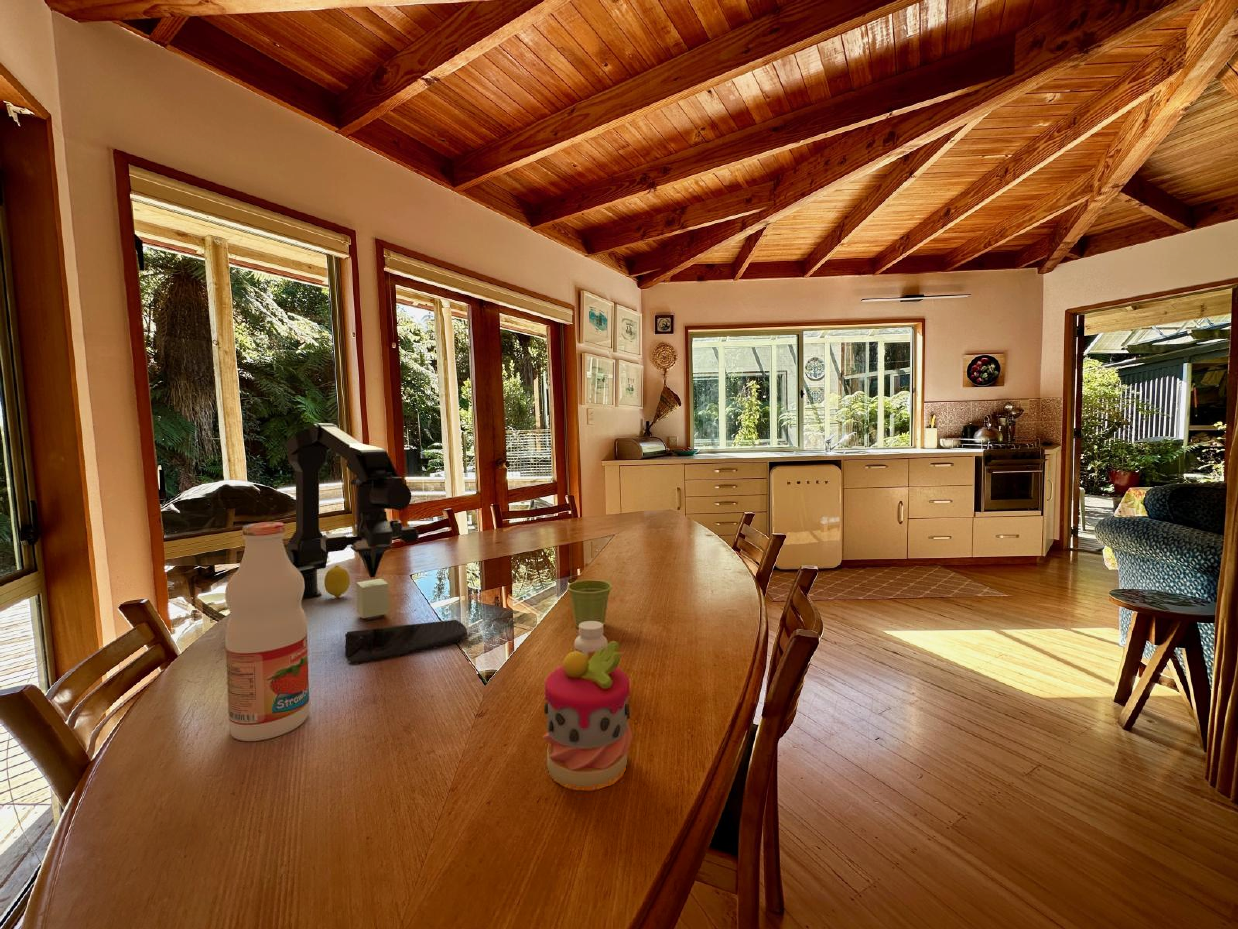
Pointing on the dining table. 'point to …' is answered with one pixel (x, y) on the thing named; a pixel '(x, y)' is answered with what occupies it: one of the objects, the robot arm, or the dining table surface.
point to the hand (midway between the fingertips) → (372, 577)
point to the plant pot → (589, 600)
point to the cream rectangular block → (372, 598)
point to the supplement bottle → (590, 638)
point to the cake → (587, 718)
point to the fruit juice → (266, 639)
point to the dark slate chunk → (401, 640)
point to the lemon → (337, 581)
